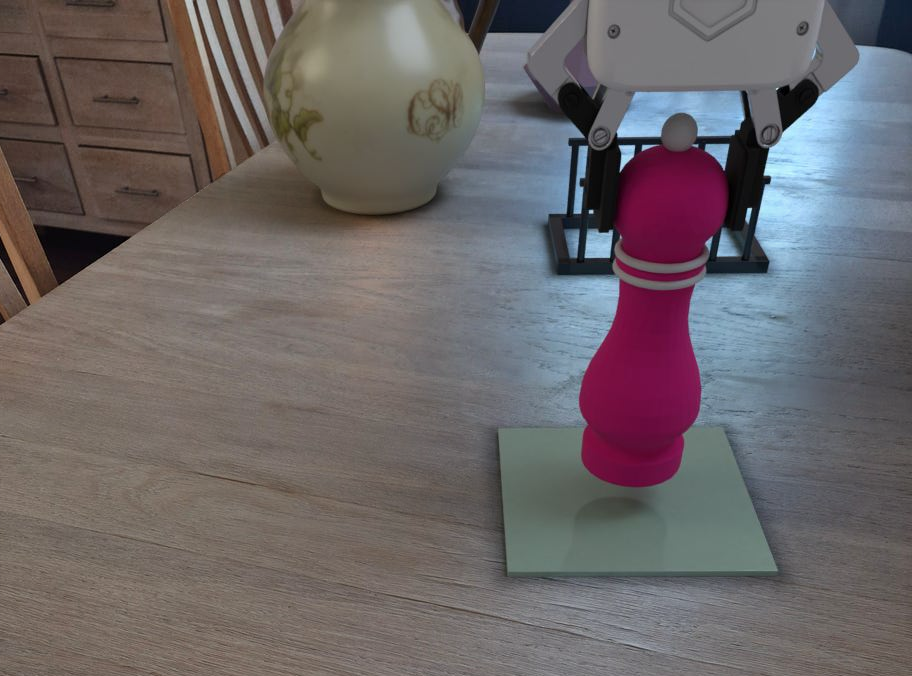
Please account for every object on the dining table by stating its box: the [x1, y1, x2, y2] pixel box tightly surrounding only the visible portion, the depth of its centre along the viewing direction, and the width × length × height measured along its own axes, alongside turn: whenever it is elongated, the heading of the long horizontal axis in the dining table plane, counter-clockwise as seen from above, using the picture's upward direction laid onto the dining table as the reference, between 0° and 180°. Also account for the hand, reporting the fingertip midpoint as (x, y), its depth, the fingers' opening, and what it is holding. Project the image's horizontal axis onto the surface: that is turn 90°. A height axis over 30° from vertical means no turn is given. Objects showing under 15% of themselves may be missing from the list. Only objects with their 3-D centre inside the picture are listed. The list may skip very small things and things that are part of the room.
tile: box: [497, 426, 779, 578], centre depth 62 cm, size 16×16×1 cm
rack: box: [547, 135, 772, 276], centre depth 89 cm, size 19×12×8 cm, turn 89°
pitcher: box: [262, 0, 501, 216], centre depth 95 cm, size 22×24×25 cm
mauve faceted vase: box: [522, 0, 599, 115], centre depth 119 cm, size 16×16×20 cm
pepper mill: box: [578, 112, 729, 488], centre depth 53 cm, size 7×7×20 cm
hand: (666, 219), depth 50 cm, fingers closed on pepper mill, 6 cm apart
